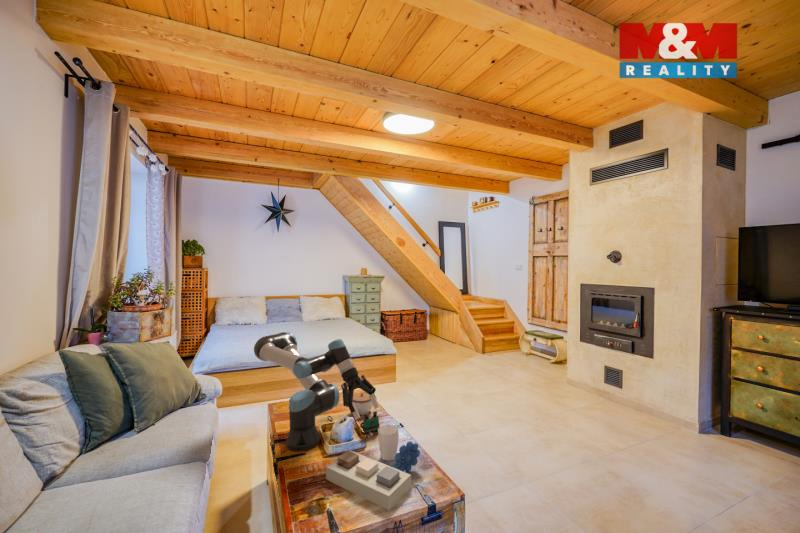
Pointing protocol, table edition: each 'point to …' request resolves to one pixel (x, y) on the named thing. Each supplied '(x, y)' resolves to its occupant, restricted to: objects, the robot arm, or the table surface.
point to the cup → (388, 441)
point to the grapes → (407, 457)
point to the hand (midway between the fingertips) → (368, 413)
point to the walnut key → (348, 460)
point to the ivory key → (367, 468)
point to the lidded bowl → (362, 402)
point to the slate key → (388, 477)
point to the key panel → (369, 483)
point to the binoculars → (370, 424)
